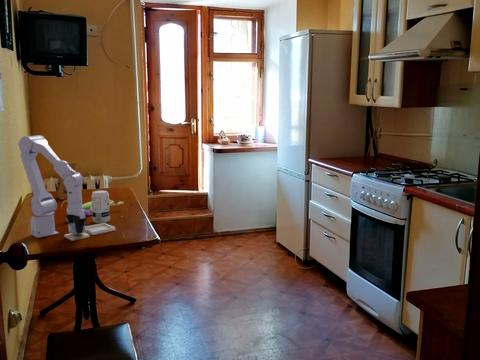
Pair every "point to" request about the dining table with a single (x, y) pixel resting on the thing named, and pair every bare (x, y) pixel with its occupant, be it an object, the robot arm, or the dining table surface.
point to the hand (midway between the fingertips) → (76, 231)
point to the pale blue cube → (74, 228)
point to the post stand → (76, 236)
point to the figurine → (67, 205)
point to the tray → (99, 228)
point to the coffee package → (60, 185)
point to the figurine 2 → (89, 205)
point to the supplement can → (100, 206)
